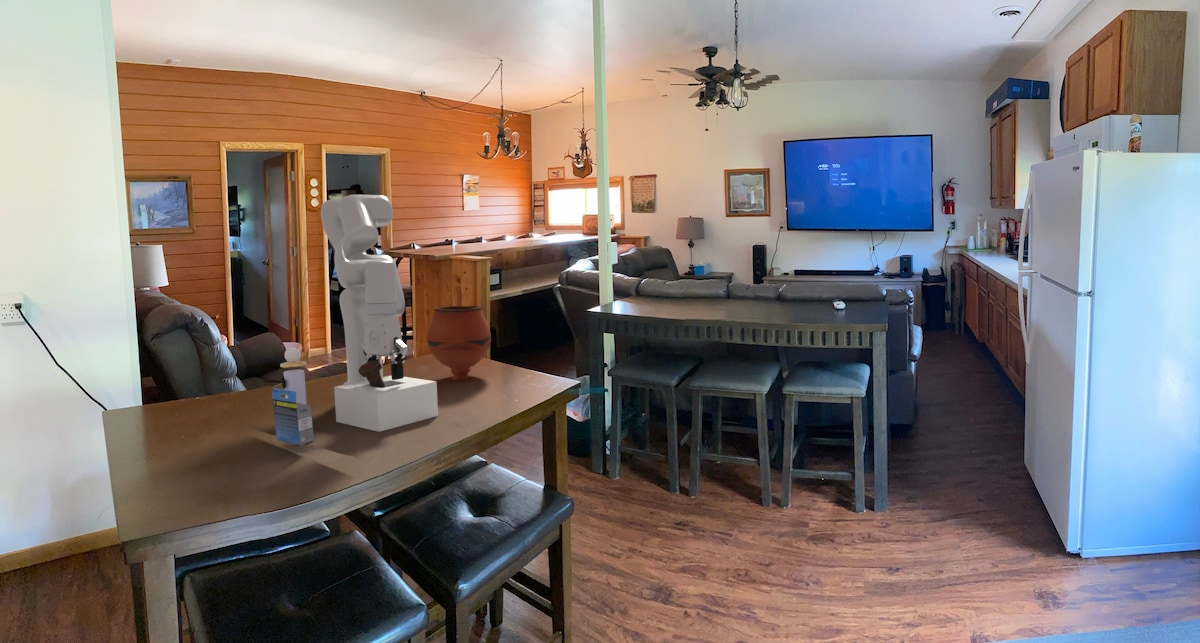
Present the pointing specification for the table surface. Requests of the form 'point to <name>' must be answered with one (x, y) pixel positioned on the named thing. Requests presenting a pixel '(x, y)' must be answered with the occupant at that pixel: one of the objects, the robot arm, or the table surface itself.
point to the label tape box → (291, 418)
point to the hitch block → (386, 403)
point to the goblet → (459, 338)
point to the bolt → (372, 373)
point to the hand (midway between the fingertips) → (385, 377)
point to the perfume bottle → (294, 375)
